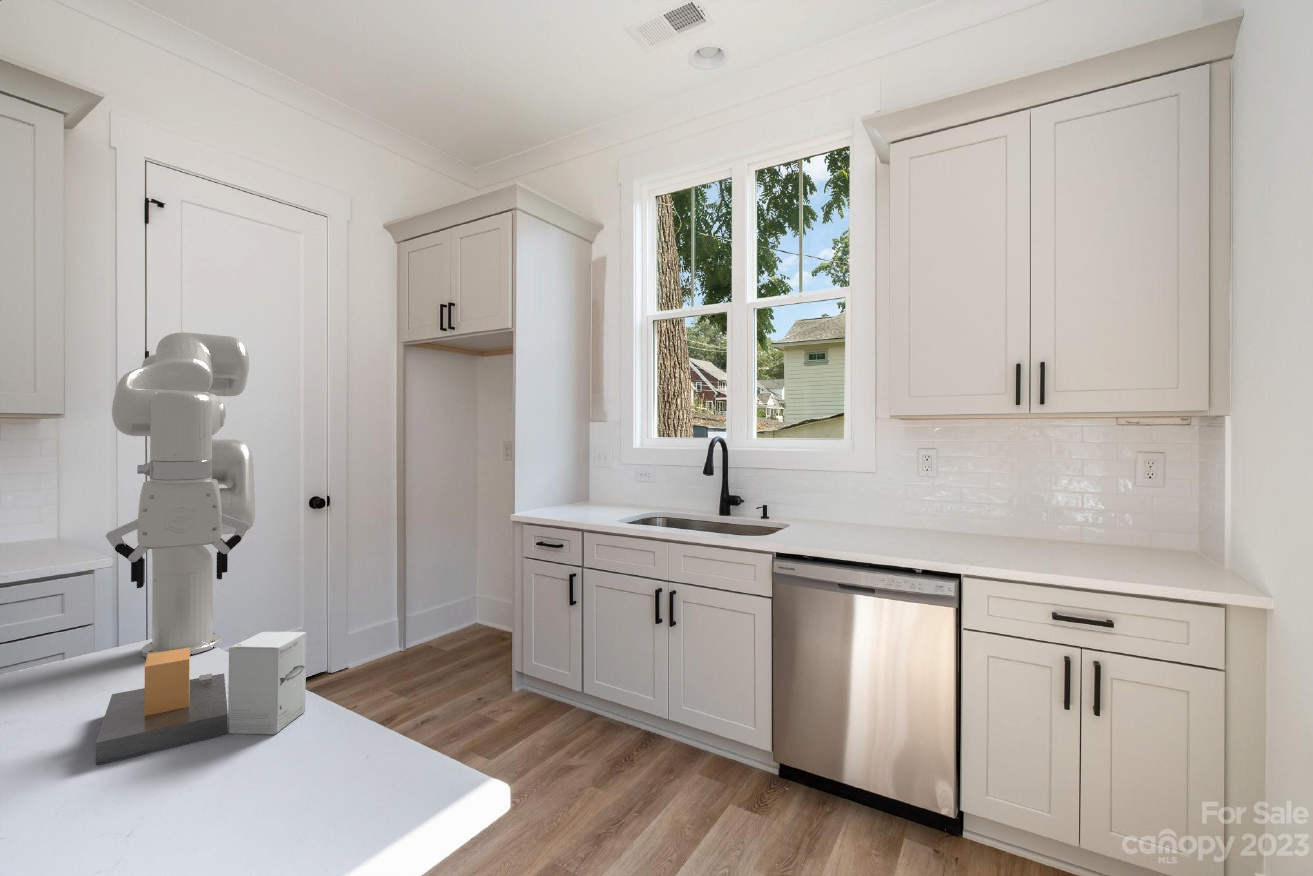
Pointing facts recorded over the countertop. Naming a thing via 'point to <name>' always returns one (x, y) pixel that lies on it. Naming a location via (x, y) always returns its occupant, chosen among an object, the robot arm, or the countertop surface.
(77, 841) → the countertop surface
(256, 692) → the supplement box
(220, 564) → the robot arm
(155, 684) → the orange block
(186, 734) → the dark gray rectangular board
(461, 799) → the countertop surface
